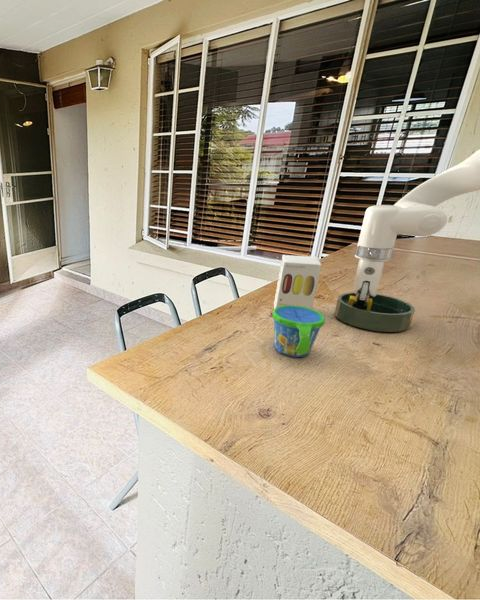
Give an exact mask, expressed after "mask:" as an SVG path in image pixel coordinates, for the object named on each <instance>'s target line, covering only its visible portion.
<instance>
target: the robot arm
mask: <svg viewBox="0 0 480 600" xmlns="http://www.w3.org/2000/svg"><path fill="white" fill-rule="evenodd" d="M478 191H480V148H479V149H478V150H476V151H475V152H474V153H472V154H471V155H469V156H468V157H467V158H466V159H464V160H463V161H461V162H460V163H457V164H456V165H453V166H451V167H450V168H448V169H446V170H444V171H443V172H442V171H441V173H439V174H437V175H435V176H433V177H431V178H429V179H427V180H426V181H424V182H422V183H420V184H418V185H417V186H416V187H414V188H413V189H412V190H410V191H409V192H407V194H405V195H404V196H402V197H401V198H400V199H398V200H397V201H396V202H395V203H394V204H376V205H375V204H374V205H371V206H369V207H368V208H366V210H365V212H364V217H363V220H362V225H361V229H360V233H359V237H358V241H357V245H356V250H355V253H354V258H356V259H359V260H358V265H357V268H356V273H355V278H354V286H353V287H354V289H353V293H355V294H356V295H355V296H356V298H355V302H354V303H353V305H352V306H353V307H355V308H358V309H362V310H366V309H367V302H368V298H369V294H370V295H371V296H373V297H375V296H376V295H377V294H378V289H379V286H380V283H381V279H382V275H383V271H384V267H385V266H384V265H385V262H388V261H391V258H392V254H393V250H394V247H395V243H396V240H397V238H398V237H397V236H398V235H403V236H404V235H406V236H412V237H413V236H414V237H427V236H432V235H435V234H437V233H439V232H440V231H441V230H443V229H444V228H445V226H446V225H447V223H448V215H447V213H446V212H445V210H443V209H441V208H440V207H438V206H439V205H440V204H442V203H444V202H446V201H448V200H451V199H453V198H455V197H458V196H460V195H464V194H465V195H466V194H468V193H473V192H478Z"/></svg>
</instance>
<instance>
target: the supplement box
mask: <svg viewBox="0 0 480 600" xmlns="http://www.w3.org/2000/svg"><path fill="white" fill-rule="evenodd" d="M281 256H282V257H281V261H280V267H279V273H278V279H277V282H276V283H277V284H276V289H275V290H276V291H275V295H274V299H273V300H274V301H273V310H274V309H275V308H277V307H280V306H301V307H306V308H310V309H313V306H314V302H315V297H316V292H317V288H318V283H319V279H320V274H321V270H322V263H321V262H320V261H321V260H320V259H319V258H318V256H311V255H309V256H308V255H307V256H306V255H294V254H293V255H290V254H282V255H281Z"/></svg>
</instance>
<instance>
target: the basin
mask: <svg viewBox="0 0 480 600" xmlns="http://www.w3.org/2000/svg"><path fill="white" fill-rule="evenodd" d="M355 295H356V294H355V293H354V292H345V293H342V294H340V295H338V296H337V301H336V305H335V309H334V313H333V314H334V316H335V317H336V318H337V319H338V320H340V321H342V322H343V323H346V324H348V325H350V326H352V327H356V328H359V329H363V330H368V331H371V332H381V333H382V332H384V333H393V332H395V333H396V332H402V331H406V330H408V329H409V328H410V326H411V324H412V321H413V317H414V314H415V312H416V309H415V306H413V305H412V304H411V303H409V302H408V301H405V300H403V299H400V298H397V297H393V296H391V295H390V296H389V295H384V294H379V293H377V295H376V296H375V297H373V296H371V295H370V294H369V298H372V305H371V309H370V311H366V310H362V309H358V308H355V307H353V306H350V305H348V303H349V299H350V296H355Z"/></svg>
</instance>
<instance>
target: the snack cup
mask: <svg viewBox="0 0 480 600" xmlns="http://www.w3.org/2000/svg"><path fill="white" fill-rule="evenodd" d="M272 318H273V346H274V348H275V350H277V352H278V353H279V354H283V355H284V356H287V357H290V358H302V357H306V356H308V355H309V354H310V353H311V350H312V349H313V346H314V343H315V342H316V339H317V336H318V335H319V332H320V329H321V328H322V327H323V326H324V325H325V323H326V321H325V320H326V319H325V316H324V314H322V312H320V311H318V310H315V309H313V308H312V309H310V308H306V307H301V306H280V307H277V308H275V309H274V308H273V310H272Z"/></svg>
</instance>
